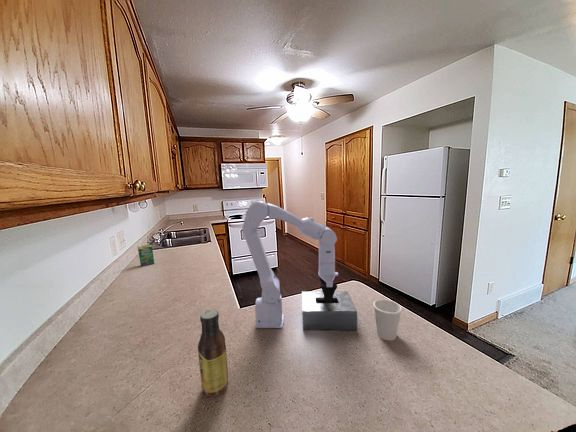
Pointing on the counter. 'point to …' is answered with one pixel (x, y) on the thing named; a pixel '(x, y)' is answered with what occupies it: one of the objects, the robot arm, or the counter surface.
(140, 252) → the coffee box
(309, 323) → the money box
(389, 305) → the dixie cup
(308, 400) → the counter surface
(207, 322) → the sauce bottle
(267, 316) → the robot arm
